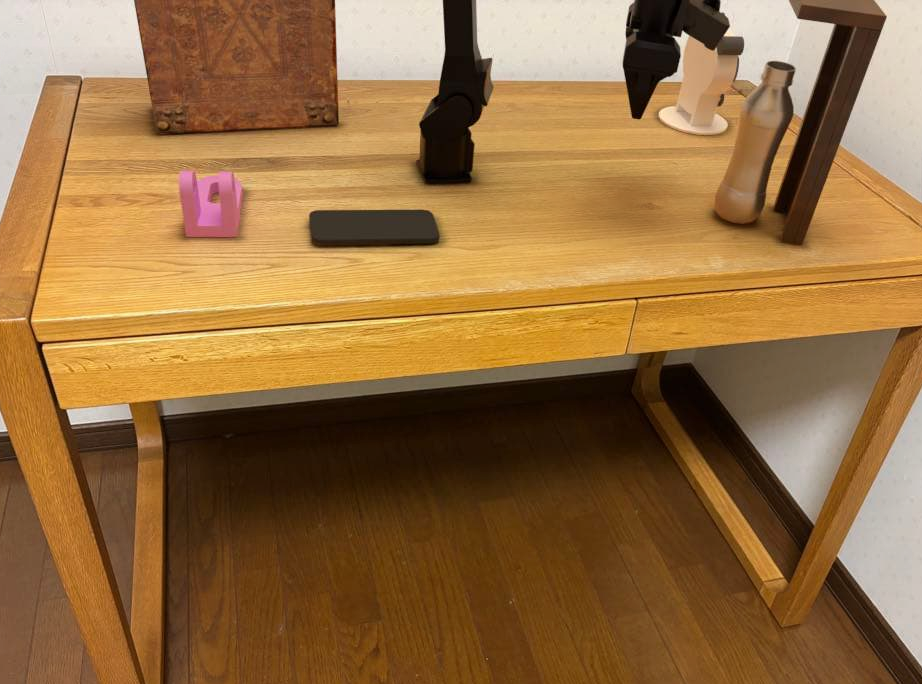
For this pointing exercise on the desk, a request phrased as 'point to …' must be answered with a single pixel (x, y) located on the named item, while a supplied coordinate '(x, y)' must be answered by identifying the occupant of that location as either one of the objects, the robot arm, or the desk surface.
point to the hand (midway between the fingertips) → (636, 105)
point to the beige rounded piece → (704, 86)
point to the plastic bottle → (756, 145)
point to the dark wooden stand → (827, 104)
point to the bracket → (210, 204)
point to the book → (240, 64)
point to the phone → (373, 227)
